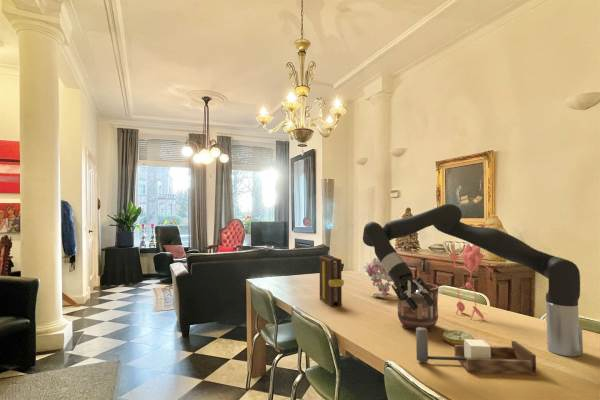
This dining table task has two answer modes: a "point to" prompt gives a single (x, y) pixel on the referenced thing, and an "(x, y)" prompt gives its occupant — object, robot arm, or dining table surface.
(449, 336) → the decorated donut
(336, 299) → the book
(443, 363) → the dining table surface
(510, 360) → the walnut lane
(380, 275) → the flower
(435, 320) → the pottery
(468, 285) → the figurine
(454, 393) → the dining table surface
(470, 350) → the block with knobbed rod
